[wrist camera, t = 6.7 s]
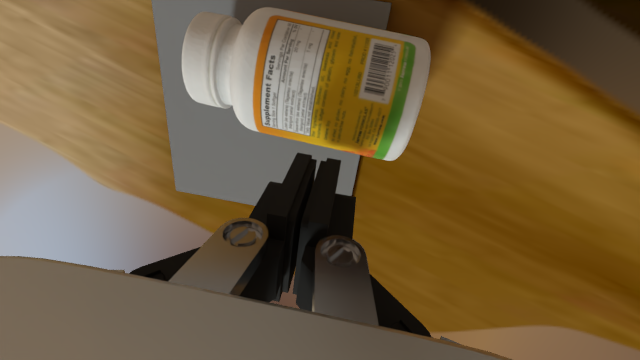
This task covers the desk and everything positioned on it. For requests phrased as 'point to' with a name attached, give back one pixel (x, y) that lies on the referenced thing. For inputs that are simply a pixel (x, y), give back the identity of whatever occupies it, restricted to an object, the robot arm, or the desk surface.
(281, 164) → the rubber mat
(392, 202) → the desk surface
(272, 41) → the supplement bottle
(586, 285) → the desk surface
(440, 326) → the desk surface
